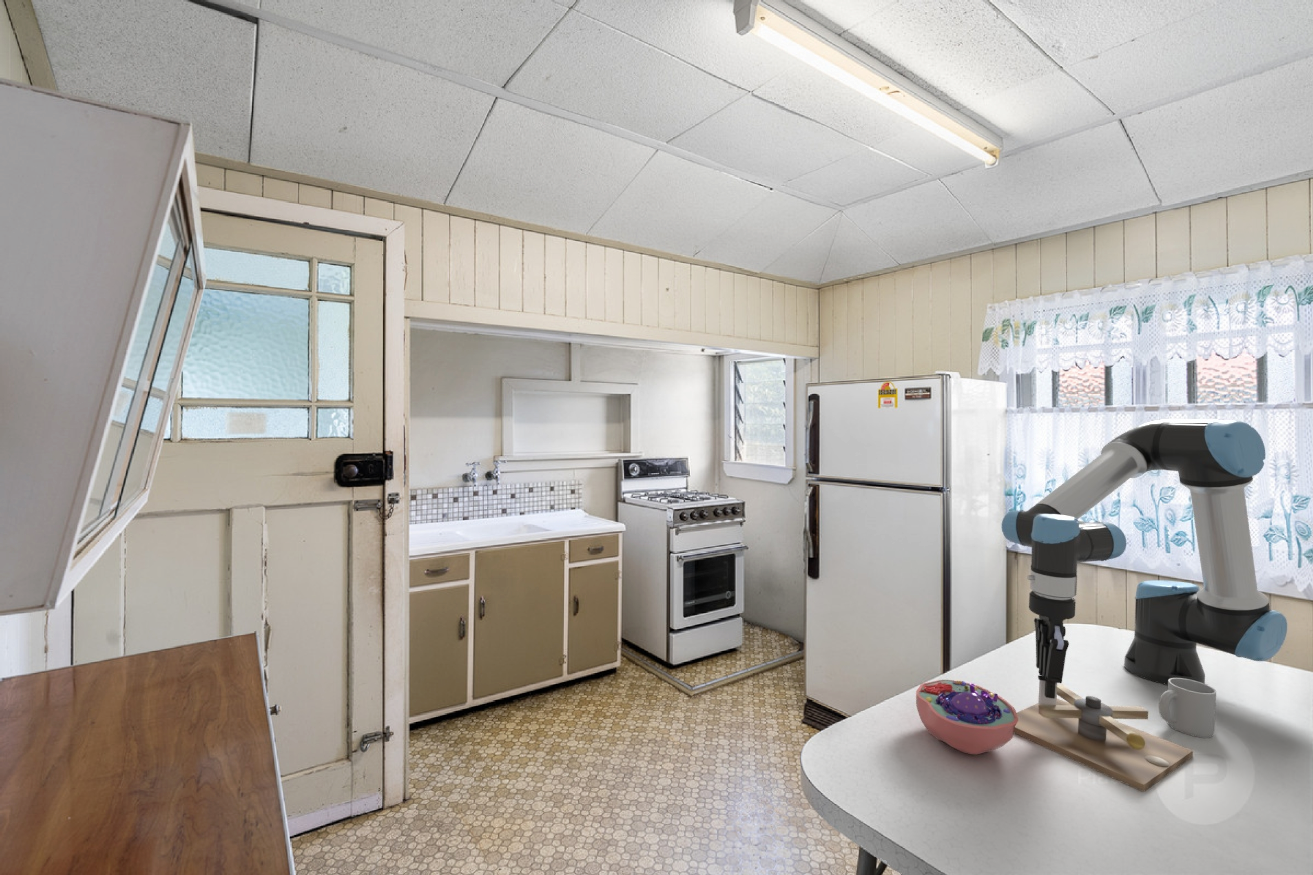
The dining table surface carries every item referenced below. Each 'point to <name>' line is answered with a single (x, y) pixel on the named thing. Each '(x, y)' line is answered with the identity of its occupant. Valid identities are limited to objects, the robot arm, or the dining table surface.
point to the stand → (1103, 747)
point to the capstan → (1097, 714)
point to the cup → (1189, 707)
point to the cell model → (965, 715)
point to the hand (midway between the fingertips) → (1046, 710)
